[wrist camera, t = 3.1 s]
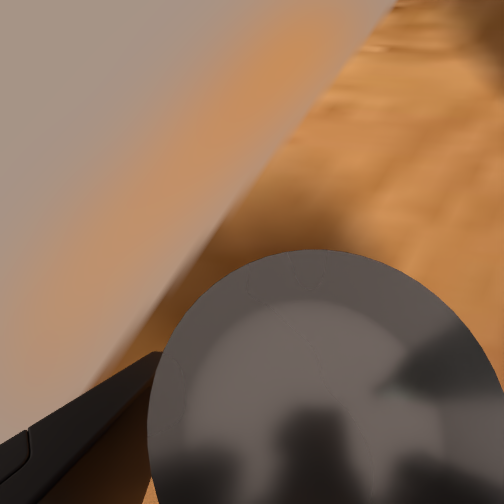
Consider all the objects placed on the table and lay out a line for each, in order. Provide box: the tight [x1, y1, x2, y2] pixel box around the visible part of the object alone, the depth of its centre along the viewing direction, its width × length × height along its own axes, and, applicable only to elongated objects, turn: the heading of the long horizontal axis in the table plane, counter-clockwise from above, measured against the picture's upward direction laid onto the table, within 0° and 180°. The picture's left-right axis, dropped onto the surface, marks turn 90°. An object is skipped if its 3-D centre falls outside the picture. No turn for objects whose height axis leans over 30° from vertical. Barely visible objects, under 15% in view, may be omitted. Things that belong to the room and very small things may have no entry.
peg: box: [147, 250, 504, 504], centre depth 9 cm, size 3×3×12 cm
